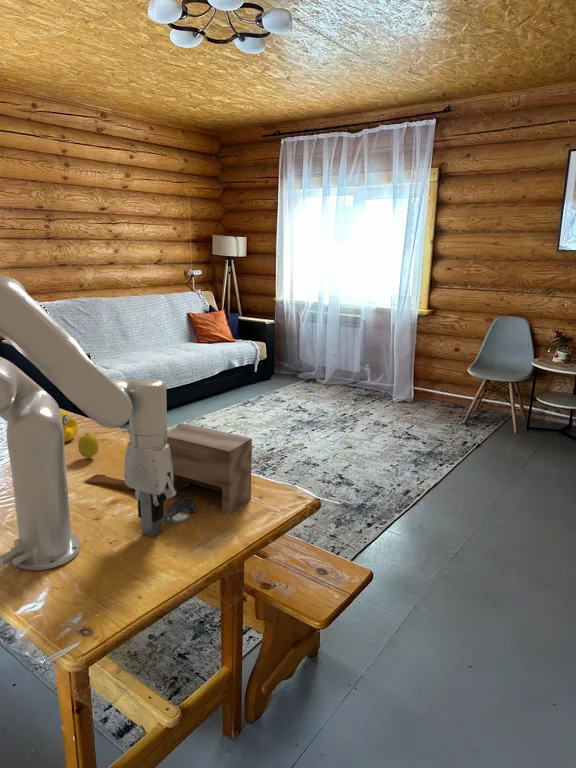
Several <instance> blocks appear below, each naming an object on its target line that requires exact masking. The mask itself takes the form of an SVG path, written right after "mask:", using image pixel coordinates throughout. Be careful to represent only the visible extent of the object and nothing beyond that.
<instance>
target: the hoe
mask: <svg viewBox="0 0 576 768" xmlns="http://www.w3.org/2000/svg"><path fill="white" fill-rule="evenodd" d="M159 497H160V495H159ZM174 499H175V501H174V502H172V503H171V504H169V505H168V506H166V507H165V508H163V509H164V516H163V517H162V518H161V519H159V520H158V521H156V522H152V509H151V505H153V495H152V494H149V493H146V492H142V491H140V508H141V518H140V523H141V535H143V536H147V537H150V538H154V537H156V536H158V534H160V533H161V532H162V531H163V528H162V527H163V526H162V522H164V521H165V519H166V518H168V517H169V516H171V515H172V514H174V513H175V512H176V511H178V510H179V509H181V508H182V507H184V506H187V507H189V508H190V513H194V512H195V511H196V509H197V508H196V505H197V504H196V500H194V499H191V498H188V497H184V496H181V495H177V496H176V497H175V498H174Z"/></svg>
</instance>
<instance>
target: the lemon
mask: <svg viewBox="0 0 576 768" xmlns="http://www.w3.org/2000/svg"><path fill="white" fill-rule="evenodd" d="M99 444H100V443H99V441H98V438H97V437H96V436H95V434H92V433H89V432H85V434H82V435H81V436H80V437H79V440H78V444H77V449H78V452H79V453H80V455H81V456H82V457H84V458H87V459H88V460H90V459H92V458H93V457H95V456H96V455H97V454H98V452H99V446H100V445H99Z"/></svg>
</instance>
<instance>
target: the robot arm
mask: <svg viewBox="0 0 576 768" xmlns="http://www.w3.org/2000/svg"><path fill="white" fill-rule="evenodd" d="M27 292H28V291H27V290H26V289H25V287H24V285H23V284H22V283H20V281H18V280H16V279H14V278H13V277H9V276H6V275H5V276H4V275H0V337H2V338H3V339H5V341H6V342H8V343H9V344H10V345H11V346H12V347H14V348H15V349H16V350H17V351H18V352H19V353H20V354H21V355H23V356H24V357H25V358H26V359H27V360H28V361H29V362H30V363H32V364H33V365H34V366H35V367H36V368H37V369H38V370H39V371H40V373H42V374H43V375H44V377H46V378H47V380H49V382H51V383H52V384H53V385H54V386H56V387H57V389H58V390H59V391H60V392H62V394H63V395H64V396H65V397H66V398H67V399H68V400H70V401H71V402H72V404H74V405H75V406H76V407H77V408H78V409H80V411H81V412H83V413H84V414H85V415H86V416H88V417H89V418H90V419H91V420H92V421H94V422H95V423H96V424H97V425H99V426H100V427H103V428H107V429H117V428H120V427H122V426H124V425H125V424H127V423H128V422H129V423H128V424H129V428H128V429H127V434H128V435H129V441H128V442H127V444H126V447H125V448H126V450H125V454H124V468H123V469H124V470H123V471H124V472H123V473H124V479H123V480H125V484H126V485H127V486H128V487H130V488H131V489H132V491H133V492H132V491H131V492H132V493H133V494H134V499H135V500H136V501H137V517H138V518H139V519H141V508H140V491H142V492H146V493H149V494H152V495H153V505H151V509H152V522H156V521H158V520H159V519H161V518H162V517H163V516H164V509H165V508H164V503H165V502H166V501H167V500H169V499H172V498H174V497H175V496H176V495H177V492H176V491H175V489H174V487H173V463H172V456H171V451H170V447H169V445H168V444H167V432H168V422H167V421H168V420H167V419H168V418H167V417H168V416H167V415H168V414H167V410H168V409H167V407H168V406H167V386H166V383H164V381H162V380H161V379H157V378H149V377H148V378H147V377H146V378H139V379H135V380H132V379H131V380H130V379H119V378H118V379H117V378H116V379H115V378H108V376H106V375H105V373H104V372H102V371H101V369H100V368H98V366H96V365H95V364H94V362H92V360H91V359H90V358H89V357H88V356H87V354H86V353H85V351H84V350H83V349H82V347H81V346H80V344H79V343H78V341H77V340H76V339H75V338H74V336H73V335H72V334H71V333H70V332H69V331H68V330H66V328H64V327H63V325H61V324H60V323H59V322H58V321H57V320H56V319H54V317H52V315H50V314H49V313H48V312H47V311H46V310H45V309H44V308H43V307H42V306H41V305H40V303H39V302H37V301H36V300H35V299H34V298H32V296H31V295H30V294H29V293H27ZM60 411H61V409H60V407H59V404H58V403H57V401H56V400H55V399H54V397H52V395H50V394H49V393H48V392H47V391H46V390H44V388H43V387H41V386H40V385H39V384H37V382H35V381H34V380H33V379H32V378H31V377H29V376H28V375H27V374H26V373H25V372H24V371H23V370H22V369H20V368H19V367H18V366H17V365H15V364H14V363H13V362H11V361H9V360H8V359H6V358H4V357H2V356H0V418H1V419H3V420H4V421H5V422H7V426H6V443H7V451H8V456H9V457H8V458H9V461H10V462H9V463H10V470H11V478H12V486H13V487H12V488H13V495H14V503H15V512H16V521H17V531H18V538H16V539H15V540H14V541H13V543H14V544H13V545H14V546H12V547H11V548H10V550H9V551H8V552H6V551H5V552H4V553H3V554H1V555H0V567H3V566H5V565H7V564H9V563H11V562H12V563H11V564H12V565H13V566H15V567H17V568H19V569H22V570H26V571H33V572H34V571H45V570H50V569H54V568H58V567H60V566H62V565H64V564H66V563H68V562H70V561H72V560H73V559H74V558H75V557H76V556H77V555H78V554H79V553H80V550H81V541H80V539H79V538H78V536H76V535H75V534H72V528H71V527H72V526H71V514H70V502H69V491H68V490H69V487H68V478H67V469H66V468H67V466H66V455H65V451H66V450H65V442H64V430H63V423H62V418H61V413H60ZM165 489H166V493H165ZM159 495H160V497H159Z"/></svg>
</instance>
